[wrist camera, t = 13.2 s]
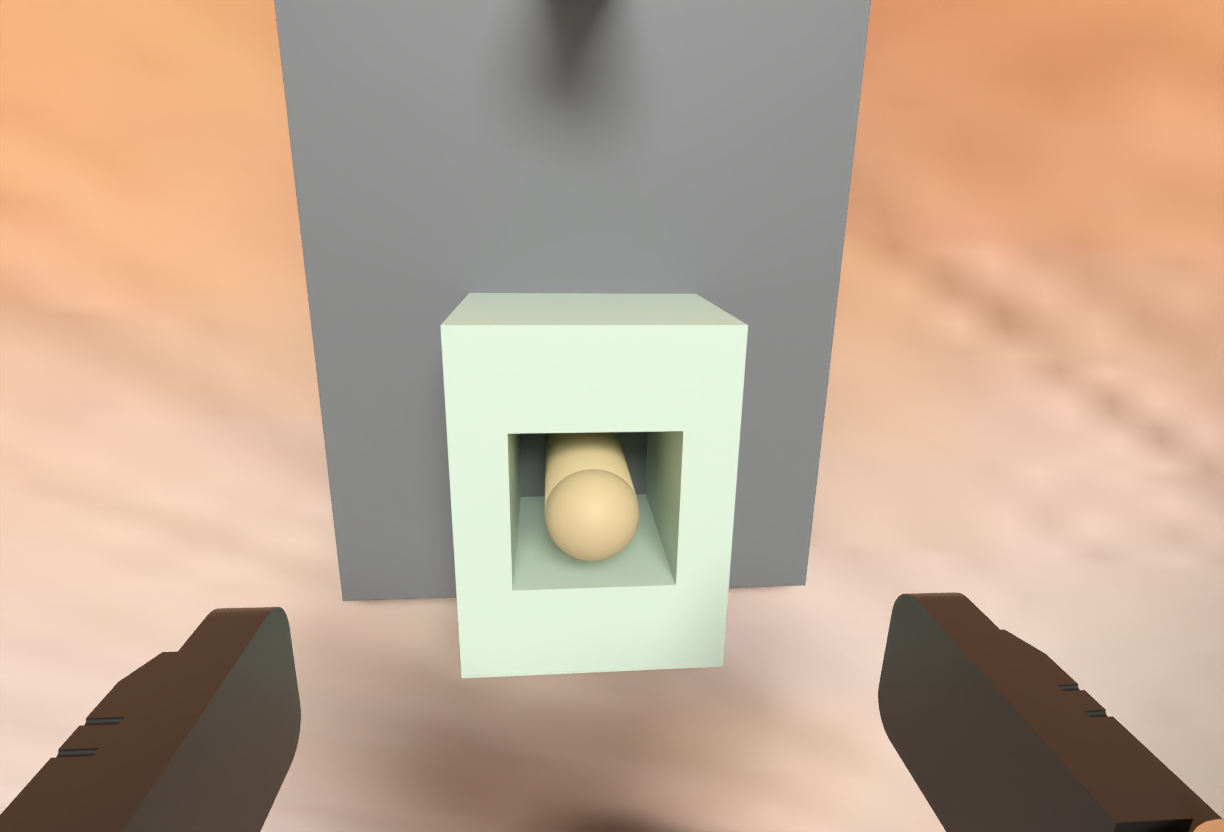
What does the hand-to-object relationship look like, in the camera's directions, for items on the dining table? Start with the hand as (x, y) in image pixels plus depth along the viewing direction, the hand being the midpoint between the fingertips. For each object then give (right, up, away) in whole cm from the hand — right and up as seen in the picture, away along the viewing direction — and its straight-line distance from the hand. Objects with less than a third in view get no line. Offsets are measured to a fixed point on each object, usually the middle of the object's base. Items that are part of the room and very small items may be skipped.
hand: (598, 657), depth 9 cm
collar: (-1, +3, +10) cm, 11 cm away
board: (-1, +9, +10) cm, 13 cm away
